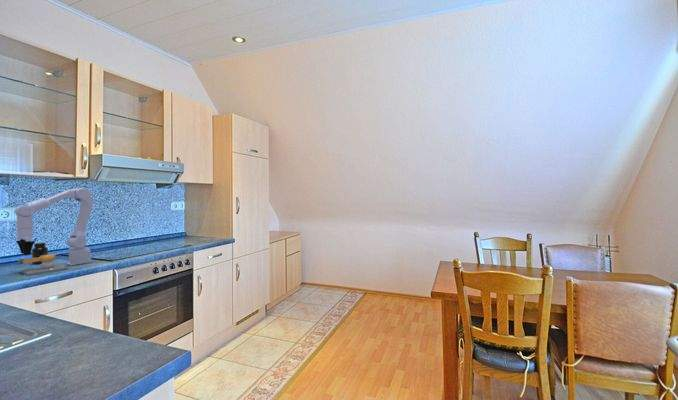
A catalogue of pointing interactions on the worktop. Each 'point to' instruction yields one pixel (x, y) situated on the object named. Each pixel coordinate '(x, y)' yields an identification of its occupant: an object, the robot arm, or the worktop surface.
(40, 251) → the supplement bottle
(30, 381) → the worktop surface
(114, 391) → the worktop surface
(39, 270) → the plate
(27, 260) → the crank handle
